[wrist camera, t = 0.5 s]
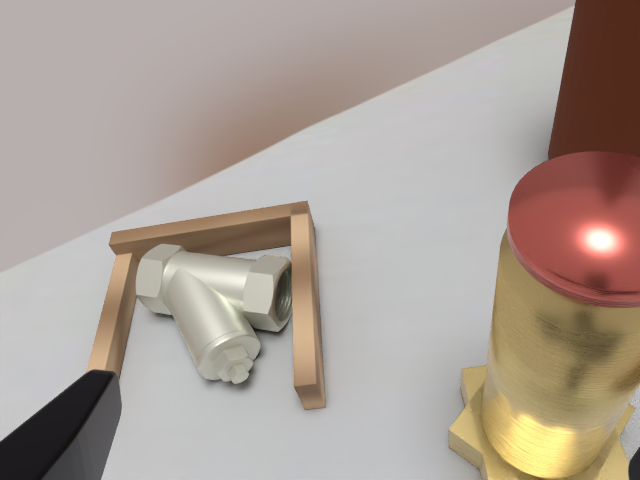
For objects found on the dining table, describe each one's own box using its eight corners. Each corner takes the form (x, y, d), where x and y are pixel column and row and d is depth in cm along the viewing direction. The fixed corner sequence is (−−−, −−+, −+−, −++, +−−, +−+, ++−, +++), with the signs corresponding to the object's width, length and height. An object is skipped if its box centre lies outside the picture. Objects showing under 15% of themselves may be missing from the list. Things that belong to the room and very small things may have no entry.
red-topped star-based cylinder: (663, 522, 21) (892, 324, 10) (468, 540, 21) (488, 375, 11) (590, 350, 26) (693, 96, 15) (433, 370, 26) (424, 141, 16)
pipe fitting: (265, 401, 27) (301, 286, 31) (241, 370, 24) (285, 247, 28) (131, 373, 30) (179, 270, 33) (94, 343, 27) (151, 233, 30)
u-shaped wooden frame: (325, 407, 26) (316, 383, 24) (88, 436, 27) (61, 416, 25) (314, 229, 34) (307, 200, 32) (130, 257, 35) (111, 232, 33)
